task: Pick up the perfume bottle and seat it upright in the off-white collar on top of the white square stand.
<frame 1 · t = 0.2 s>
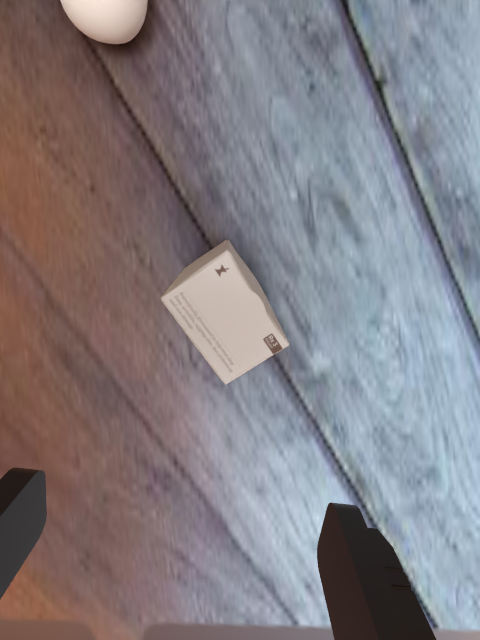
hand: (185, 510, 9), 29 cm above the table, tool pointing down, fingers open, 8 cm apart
plain white apple: (119, 16, 30), on the table
skincare box: (229, 283, 37), on the table
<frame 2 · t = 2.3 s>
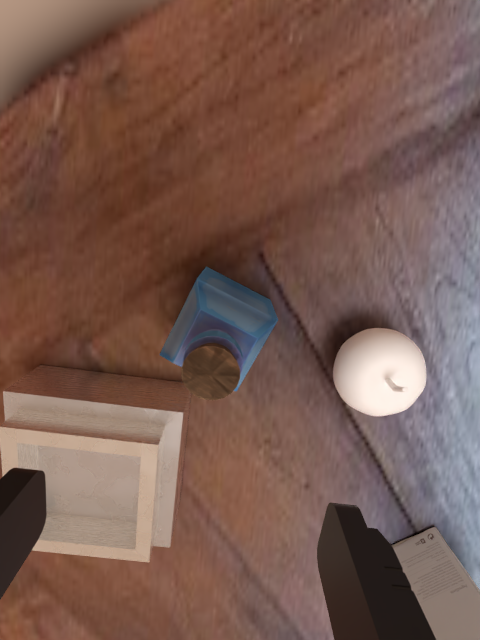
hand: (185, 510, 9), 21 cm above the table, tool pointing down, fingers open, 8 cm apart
plain white apple: (361, 352, 31), on the table
perfume bottle: (222, 313, 29), on the table
skincare box: (426, 556, 37), on the table
white square stand: (114, 438, 33), on the table
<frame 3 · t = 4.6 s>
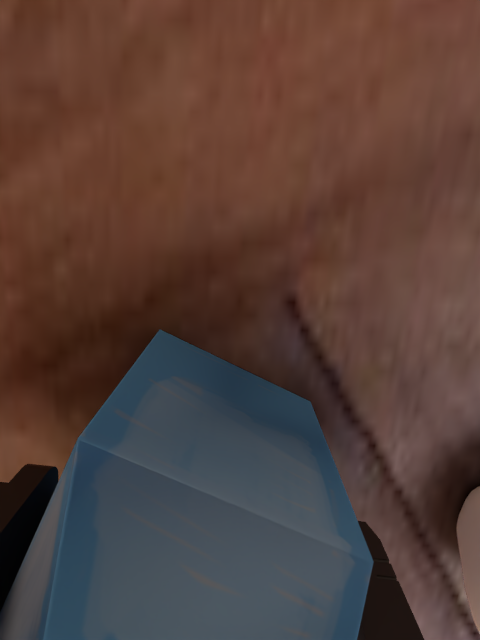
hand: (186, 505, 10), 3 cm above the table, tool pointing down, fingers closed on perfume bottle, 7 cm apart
perfume bottle: (201, 428, 13), on the table, touching gripper
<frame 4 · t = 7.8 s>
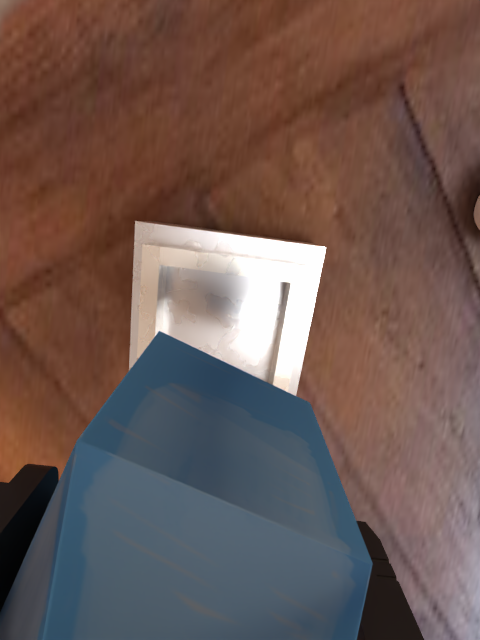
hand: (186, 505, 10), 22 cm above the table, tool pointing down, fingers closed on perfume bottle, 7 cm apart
perfume bottle: (201, 429, 13), point 19 cm above the table, touching gripper
white square stand: (223, 309, 31), on the table
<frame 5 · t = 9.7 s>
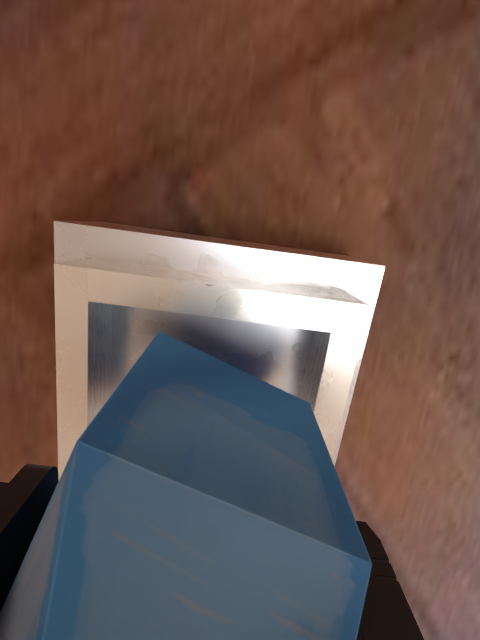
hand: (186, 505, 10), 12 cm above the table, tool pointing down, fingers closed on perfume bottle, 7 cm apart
perfume bottle: (200, 430, 13), point 8 cm above the table, touching gripper
white square stand: (213, 353, 21), on the table
when the fingers open (10 cm above the table, at t = 11.2 s): perfume bottle drops 1 cm, resting on white square stand.
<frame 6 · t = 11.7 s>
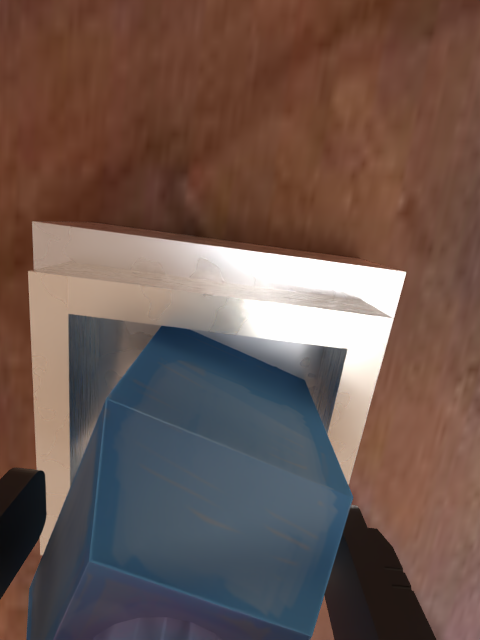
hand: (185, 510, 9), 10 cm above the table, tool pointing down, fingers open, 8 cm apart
perfume bottle: (207, 408, 15), point 5 cm above the table, touching white square stand
white square stand: (212, 364, 19), on the table
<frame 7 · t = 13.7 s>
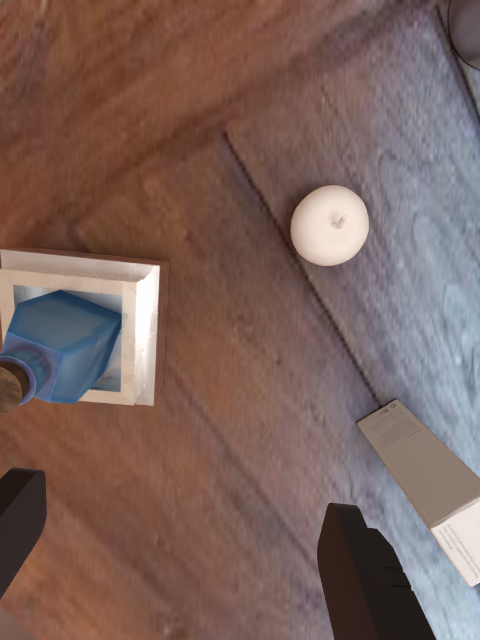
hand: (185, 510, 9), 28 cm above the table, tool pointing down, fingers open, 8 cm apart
plain white apple: (318, 227, 35), on the table
perfume bottle: (84, 331, 32), point 5 cm above the table, touching white square stand
skincare box: (392, 433, 41), on the table
white square stand: (102, 319, 36), on the table
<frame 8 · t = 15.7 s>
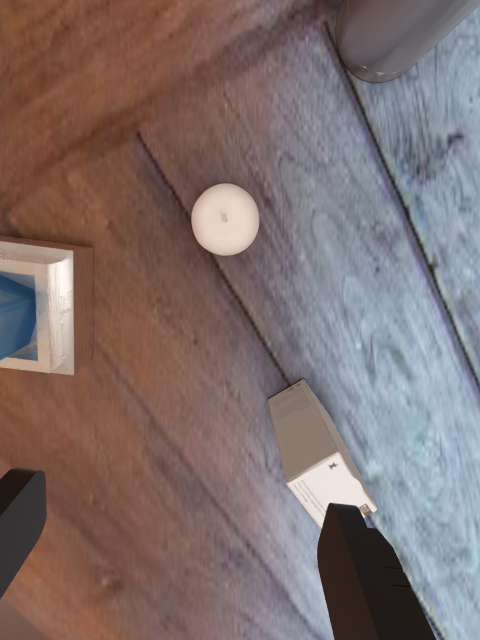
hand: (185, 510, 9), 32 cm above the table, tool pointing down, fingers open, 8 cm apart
plain white apple: (226, 220, 38), on the table
perfume bottle: (9, 307, 36), point 5 cm above the table, touching white square stand
skincare box: (301, 409, 45), on the table
white square stand: (35, 298, 41), on the table
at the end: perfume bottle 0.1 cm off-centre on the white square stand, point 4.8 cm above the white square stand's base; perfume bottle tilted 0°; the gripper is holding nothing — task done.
